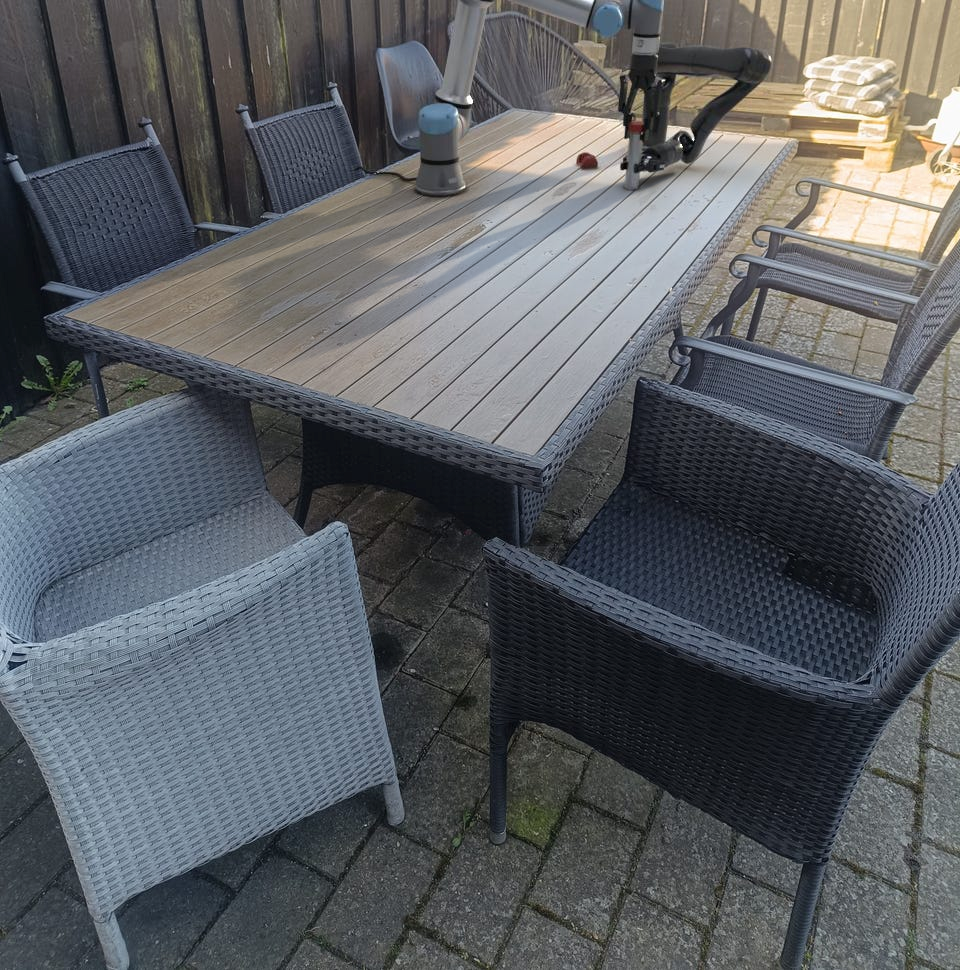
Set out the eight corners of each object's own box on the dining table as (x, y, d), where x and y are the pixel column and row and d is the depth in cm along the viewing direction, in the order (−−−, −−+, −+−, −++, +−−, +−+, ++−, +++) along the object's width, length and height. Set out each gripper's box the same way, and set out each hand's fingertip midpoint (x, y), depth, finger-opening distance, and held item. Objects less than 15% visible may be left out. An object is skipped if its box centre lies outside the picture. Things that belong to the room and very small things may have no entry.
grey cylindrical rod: (624, 189, 258) (631, 127, 248) (623, 185, 262) (629, 124, 251) (638, 189, 258) (645, 127, 248) (637, 185, 262) (643, 124, 251)
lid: (646, 132, 249) (647, 125, 247) (630, 132, 248) (631, 125, 247) (642, 128, 252) (643, 121, 251) (627, 128, 252) (627, 121, 251)
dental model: (591, 148, 281) (599, 155, 275) (590, 161, 283) (599, 168, 277) (575, 150, 280) (583, 157, 274) (574, 163, 282) (582, 170, 276)
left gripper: (610, 51, 240) (603, 137, 253) (669, 58, 232) (658, 146, 245) (621, 48, 245) (614, 132, 258) (680, 54, 237) (669, 141, 250)
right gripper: (640, 140, 267) (609, 151, 256) (679, 148, 259) (649, 159, 249) (637, 165, 271) (607, 176, 261) (676, 173, 263) (646, 185, 253)
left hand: (636, 139), depth 252 cm, fingers open, 5 cm apart
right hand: (628, 168), depth 255 cm, fingers closed on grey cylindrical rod, 4 cm apart
